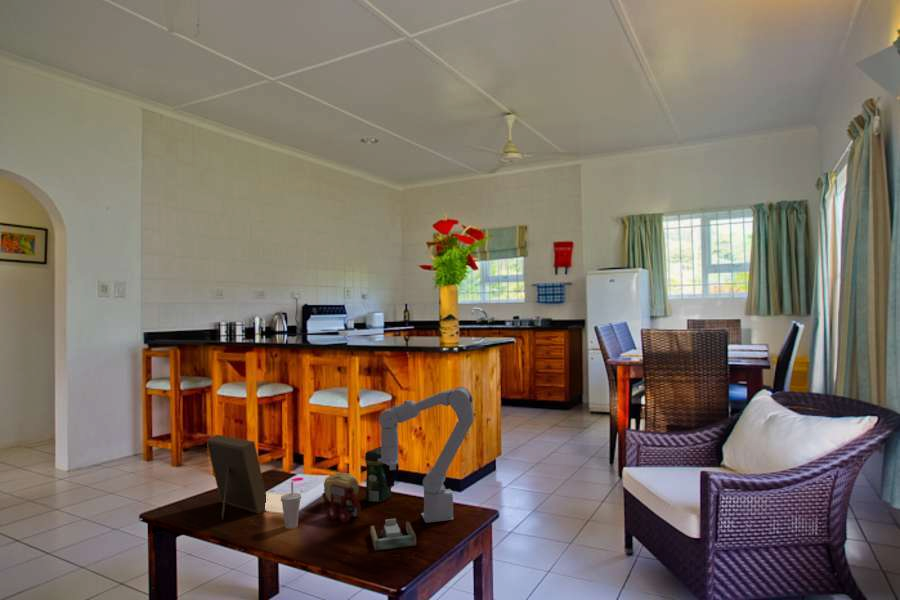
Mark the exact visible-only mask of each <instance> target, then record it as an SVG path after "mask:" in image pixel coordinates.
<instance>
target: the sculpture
mask: <svg viewBox="0 0 900 600" xmlns="http://www.w3.org/2000/svg"><path fill="white" fill-rule="evenodd" d="M333 484H336V485H341V486H346V487H348V488H349V487H353V488H354V493H356V494H357V497H358V495H359V492H360V491H359V490H360V486H359V482H358V480H357V478H356V477H355V476H354V475H352V474H350V473H346V472H335V473H334V474H332V475H329V476H327V477H326V478H325V480H324V482H323V487H324V489H323V493H324V494H325V495H326V498H327V500H328V501H329V502H330V503H331V493H330V486H331V485H333Z"/></svg>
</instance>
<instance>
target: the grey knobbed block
mask: <svg viewBox="0 0 900 600" xmlns="http://www.w3.org/2000/svg"><path fill="white" fill-rule="evenodd" d="M384 521H385V524H384V525H383V529H381V537H382V538H390V537H398V536H404V534H403V532H402V531H401V527H399V525H398V523H397V518H388V519H385V520H384Z"/></svg>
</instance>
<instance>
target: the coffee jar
mask: <svg viewBox="0 0 900 600" xmlns="http://www.w3.org/2000/svg"><path fill="white" fill-rule="evenodd" d="M380 458H381V446H378V447H376V448H374V449H371V450H368V451H366V452H365V458H364V462H365V465H366V466H365V467H366V481H365V482H366V485H365V500H366V501H368V502H369V503H372V504H373V503H374V504H375V503H383V502H385V501H387V500H388V499H390V498H391V497H392V487H387V484H386V479H385V474H384V471H383V468H382V466H381V464H385V463H382V462H378V459H380Z"/></svg>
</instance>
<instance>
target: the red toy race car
mask: <svg viewBox="0 0 900 600" xmlns="http://www.w3.org/2000/svg"><path fill="white" fill-rule="evenodd" d="M330 493H331V502H330V506H329V507H328V508H327V510H326V513H327V517H328V518H329V520H336V519H337V518H338V519H339V520H340V522H342V523H347V522H349V521H350V519H351V517H353V518H357V517H359V516H360V515H361V511H362V510H361V503H360V501H359V497H358V496H357V494H356V493H354V488H353V487H349V488H348V487H346V486H341V485H336V484H333V485H331V486H330Z"/></svg>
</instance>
